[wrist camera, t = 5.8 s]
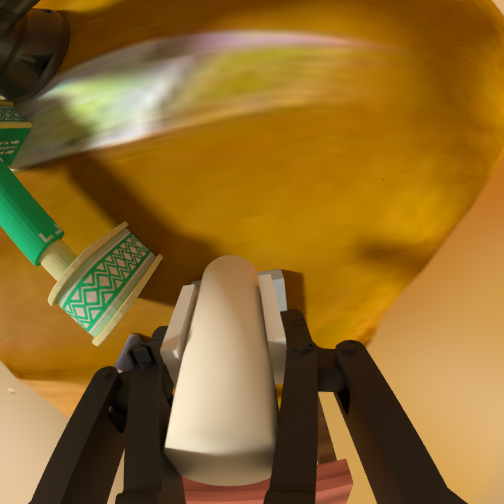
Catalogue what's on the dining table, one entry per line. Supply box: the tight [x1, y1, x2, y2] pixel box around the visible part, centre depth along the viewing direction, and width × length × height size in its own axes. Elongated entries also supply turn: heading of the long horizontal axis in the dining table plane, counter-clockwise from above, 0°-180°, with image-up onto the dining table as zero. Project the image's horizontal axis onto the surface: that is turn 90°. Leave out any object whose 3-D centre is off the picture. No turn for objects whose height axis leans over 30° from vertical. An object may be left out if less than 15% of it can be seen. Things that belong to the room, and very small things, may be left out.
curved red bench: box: [182, 396, 353, 504], centre depth 33 cm, size 7×18×25 cm, turn 98°
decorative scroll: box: [0, 100, 163, 346], centre depth 28 cm, size 36×8×15 cm, turn 44°
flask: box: [114, 333, 145, 373], centre depth 39 cm, size 9×3×11 cm, turn 10°
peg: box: [163, 255, 280, 486], centre depth 14 cm, size 4×4×14 cm
